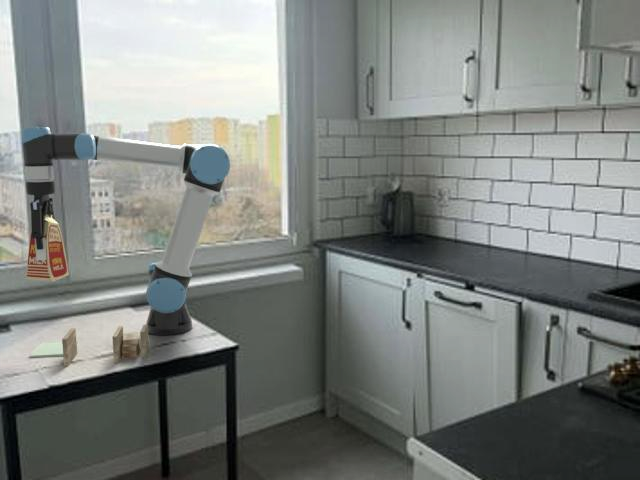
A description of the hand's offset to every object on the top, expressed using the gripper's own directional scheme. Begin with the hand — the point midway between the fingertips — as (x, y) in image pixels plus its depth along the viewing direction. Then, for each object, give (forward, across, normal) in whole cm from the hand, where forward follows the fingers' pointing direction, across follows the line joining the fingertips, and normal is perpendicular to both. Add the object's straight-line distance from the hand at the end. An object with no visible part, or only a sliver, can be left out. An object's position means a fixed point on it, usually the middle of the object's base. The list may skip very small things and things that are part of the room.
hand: (46, 256), depth 178 cm
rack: (+29, +9, +18) cm, 35 cm away
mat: (+29, 0, 0) cm, 29 cm away
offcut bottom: (+30, +7, +24) cm, 39 cm away
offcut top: (+26, +7, +24) cm, 36 cm away
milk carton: (+7, 0, 0) cm, 7 cm away
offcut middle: (+28, +7, +24) cm, 37 cm away
